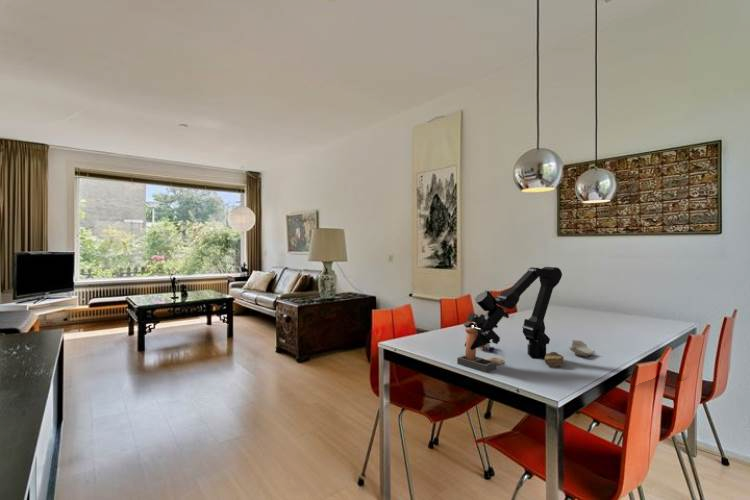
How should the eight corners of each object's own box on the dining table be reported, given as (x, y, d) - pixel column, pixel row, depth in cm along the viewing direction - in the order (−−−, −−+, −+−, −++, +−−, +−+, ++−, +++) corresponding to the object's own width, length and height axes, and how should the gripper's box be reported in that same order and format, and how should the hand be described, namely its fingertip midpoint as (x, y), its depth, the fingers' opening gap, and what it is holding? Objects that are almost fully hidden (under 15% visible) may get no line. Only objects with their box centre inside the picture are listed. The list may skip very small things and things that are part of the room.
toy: (493, 340, 159) (480, 318, 170) (478, 345, 159) (467, 323, 171) (497, 356, 166) (484, 334, 177) (483, 361, 166) (471, 339, 178)
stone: (538, 359, 155) (540, 347, 155) (556, 363, 153) (559, 352, 153) (543, 366, 142) (546, 353, 142) (564, 371, 140) (566, 358, 140)
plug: (475, 362, 149) (476, 327, 149) (477, 365, 144) (479, 330, 144) (463, 361, 149) (464, 327, 149) (465, 365, 144) (466, 329, 145)
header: (467, 360, 151) (467, 354, 151) (496, 368, 141) (496, 362, 141) (457, 363, 147) (457, 357, 147) (485, 372, 137) (485, 365, 137)
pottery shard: (578, 359, 151) (578, 347, 151) (559, 351, 162) (559, 340, 162) (599, 357, 153) (599, 345, 153) (579, 350, 164) (579, 339, 164)
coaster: (501, 358, 153) (501, 357, 153) (506, 364, 145) (506, 363, 145) (482, 358, 154) (482, 357, 154) (486, 364, 146) (486, 363, 146)
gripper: (467, 302, 157) (444, 329, 154) (492, 309, 139) (467, 340, 136) (483, 319, 159) (461, 346, 156) (510, 328, 141) (485, 359, 138)
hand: (468, 347), depth 146 cm, fingers closed on plug, 4 cm apart
